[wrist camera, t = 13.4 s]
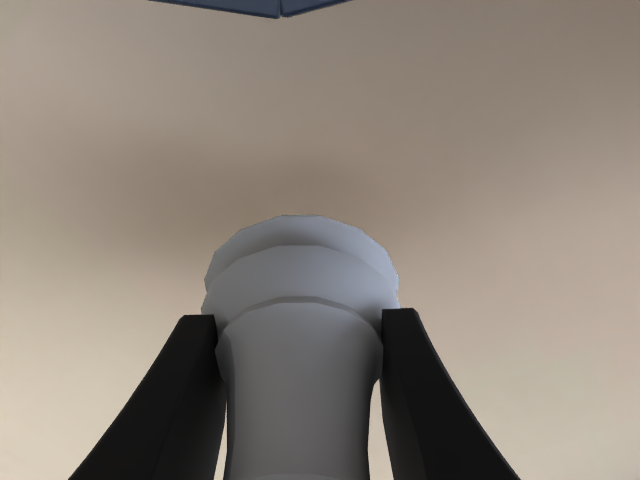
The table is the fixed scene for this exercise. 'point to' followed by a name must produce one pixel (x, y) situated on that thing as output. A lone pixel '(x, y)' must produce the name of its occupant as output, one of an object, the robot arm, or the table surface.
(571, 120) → the table surface
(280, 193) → the table surface
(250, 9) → the pot
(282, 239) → the rook chess piece
